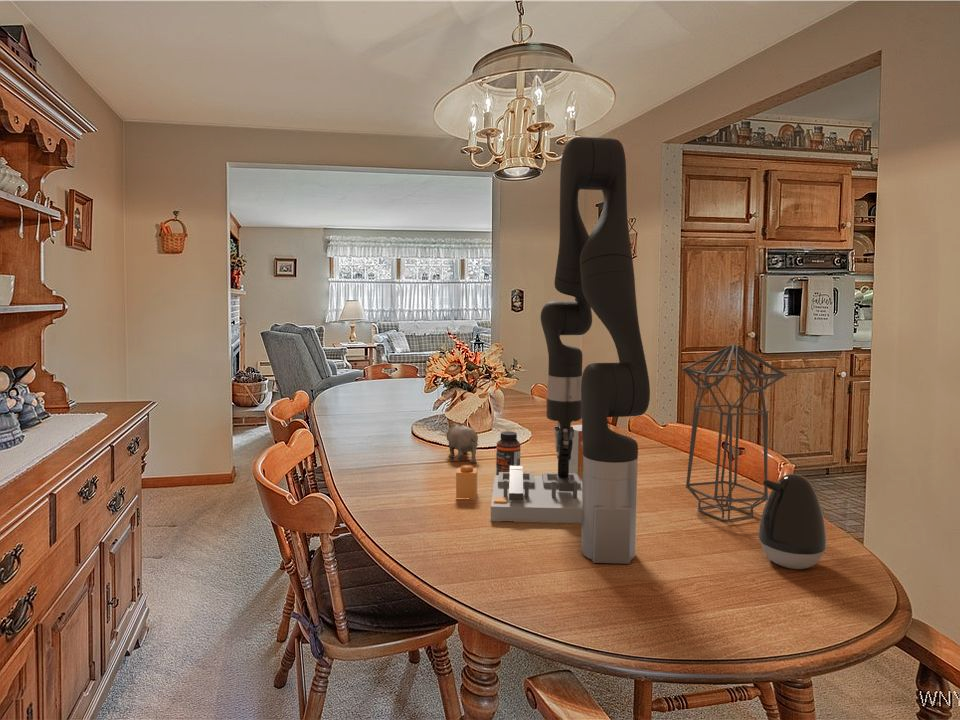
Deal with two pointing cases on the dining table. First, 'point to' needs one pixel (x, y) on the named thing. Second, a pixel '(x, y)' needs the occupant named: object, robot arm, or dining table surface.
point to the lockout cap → (466, 482)
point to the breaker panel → (537, 500)
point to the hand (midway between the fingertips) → (563, 476)
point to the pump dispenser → (792, 523)
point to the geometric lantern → (730, 423)
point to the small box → (577, 452)
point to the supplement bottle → (507, 452)
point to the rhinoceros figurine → (462, 441)
